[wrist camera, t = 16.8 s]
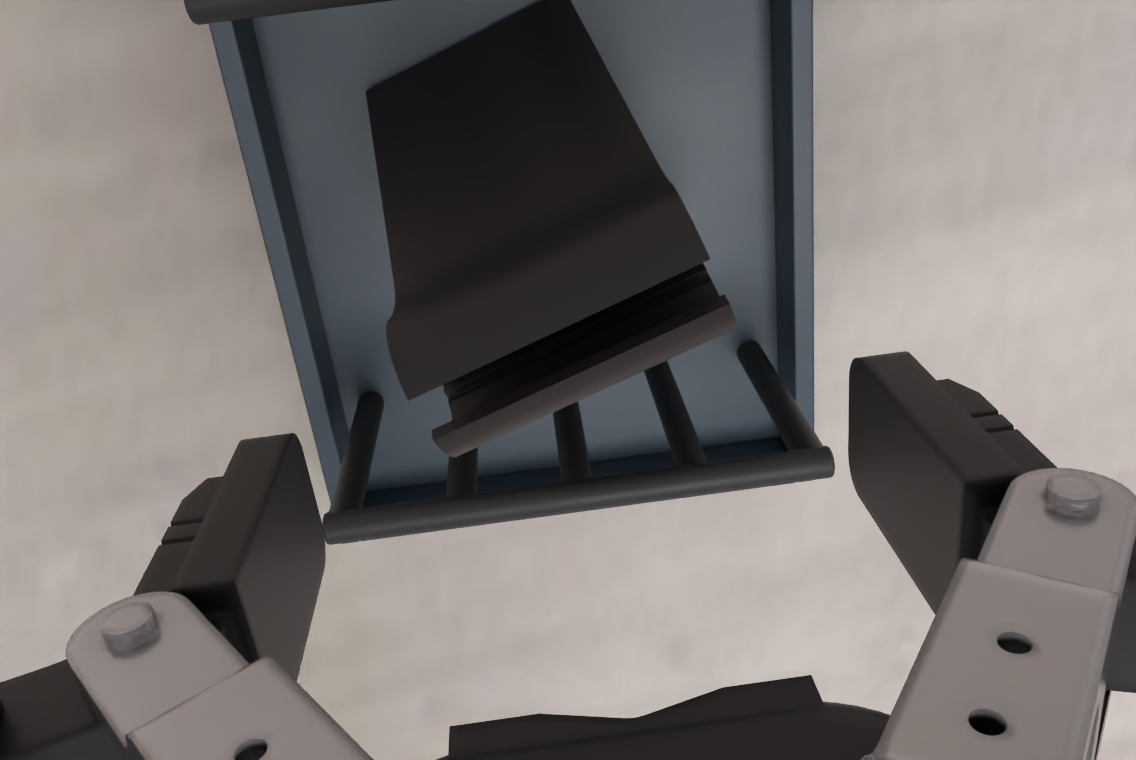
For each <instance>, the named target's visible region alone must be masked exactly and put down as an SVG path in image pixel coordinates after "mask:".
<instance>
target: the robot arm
mask: <svg viewBox="0 0 1136 760" xmlns="http://www.w3.org/2000/svg"><path fill="white" fill-rule="evenodd" d="M848 455H849V466H850V472H851V477H852V481H853V484H854V487H855V490H856V492H857V494H858V496H859V498H860V499H861V501H862V502H863V504H864V505H865V507H866V508H867V510H868V511H869V513H870V515H871V516H872V518H873V519H874V521H875V522H876V524H877V525H878V527H879V528H880V530H881V532H882V533H883V535H884V536H885V538H886V539H887V541H888V542H889V544H890V545H891V547H892V549H893V550H894V552H895V553H896V555H897V556H898V558H899V559H900V561H901V562H902V564H903V566H904V567H905V569H906V570H907V572H908V573H909V575H910V576H911V578H912V579H913V581H914V582H915V584H916V586H917V587H918V589H919V590H920V592H921V593H922V595H923V596H924V598H925V599H926V601H927V603H928V604H929V606H930V607H931V609H932V610H933V612H934V613H935V615H936V616H935V618H934V620H933V622H932V625H931V627H930V629H929V631H928V633H927V636H926V638H925V640H924V642H923V644H922V647H921V649H920V651H919V653H918V656H917V658H916V660H915V662H914V664H913V667H912V669H911V671H910V673H909V676H908V678H907V680H906V682H905V684H904V687H903V689H902V691H901V693H900V696H899V698H898V700H897V702H896V704H895V707H894V709H893V711H892V713H891V715H888V714H885V713H882V712H879V711H875V710H871V709H867V708H863V707H859V706H854V705H847V704H840V703H831V702H823V701H822V699H821V697H820V694H819V692H818V690H817V688H816V685H815V683H814V681H813V678H812V676H811V675H809V676H802V677H795V678H788V679H781V680H774V681H767V682H759V683H752V684H745V685H738V686H731V687H724V688H721V689H718V690H715V691H712V692H709V693H707V694H704V695H701V696H698V697H695V698H692V699H690V700H687V701H684V702H681V703H678V704H675V705H673V706H670V707H667V708H664V709H661V710H659V711H656V712H653V713H650V714H647V715H644V716H641V717H637V718H607V717H589V716H570V715H551V714H534V715H527V716H520V717H513V718H506V719H499V720H492V721H485V722H478V723H471V724H464V725H457V726H450V733H449V755H447V756H445V757H442V758H439V759H437V760H1097V759H1098V754H1099V750H1100V745H1101V740H1102V735H1103V731H1104V726H1105V721H1106V716H1107V712H1108V707H1109V702H1110V697H1111V691H1122V692H1132V693H1136V496H1135V495H1134V494H1133V493H1132V492H1131V491H1130V490H1129V489H1128V488H1126V487H1125V486H1123V485H1122V484H1120V483H1118V482H1116V481H1115V480H1113V479H1110V478H1108V477H1105V476H1102V475H1099V474H1096V473H1093V472H1088V471H1083V470H1077V469H1069V468H1057V467H1056V466H1055V465H1054V464H1053V463H1052V462H1051V461H1050V460H1049V459H1048V458H1047V457H1046V456H1045V455H1043V454H1042V453H1041V452H1040V451H1039V450H1038V449H1037V448H1036V447H1035V446H1034V445H1033V444H1032V443H1031V442H1030V441H1029V440H1028V439H1027V438H1026V437H1025V436H1024V435H1023V434H1022V433H1021V432H1020V431H1018V430H1017V429H1016V430H1014V428H1013V425H1012V424H1011V423H1010V422H1009V421H1008V420H1007V419H1006V418H1005V417H1004V416H1003V415H1002V414H1001V415H999V414H998V410H997V409H996V408H995V407H993V406H992V405H991V404H990V403H989V402H988V401H987V400H986V399H985V398H984V397H983V396H982V395H981V394H980V393H979V392H976V391H974V390H972V389H970V388H967V387H965V386H963V385H961V384H959V383H956V382H954V381H952V380H950V379H944V380H937V381H936V380H935V379H934V378H933V377H932V376H931V375H930V373H929V372H928V371H927V370H926V369H925V368H924V367H923V366H922V365H921V364H920V363H919V362H918V361H917V360H916V359H915V358H914V357H913V356H912V355H911V354H910V353H908V352H898V353H890V354H883V355H875V356H868V357H861V358H855V359H854V360H853V361H852V364H851V367H850V373H849V444H848ZM161 542H162V545H160V546H158V548H157V550H156V552H155V554H154V556H153V558H152V560H151V562H150V564H149V566H148V568H147V569H146V571H145V573H144V575H143V577H142V579H141V581H140V583H139V585H138V587H137V589H136V591H135V593H134V595H133V596H131V597H128V598H125V599H123V600H120V601H118V602H115V603H113V604H111V605H109V606H107V607H105V608H103V609H102V610H100V611H98V612H97V613H95V614H94V615H92V616H91V617H90V618H88V619H87V620H86V621H85V622H83V623H82V624H81V625H80V626H79V627H78V628H77V629H76V631H75V632H74V633H73V635H72V636H71V638H70V640H69V641H68V643H67V647H66V658H67V659H66V660H63V661H61V662H59V663H56V664H53V665H51V666H48V667H45V668H42V669H39V670H36V671H33V672H30V673H27V674H24V675H21V676H18V677H15V678H13V679H10V680H7V681H4V682H1V683H0V760H373V759H372V758H371V757H370V756H369V755H368V754H367V753H366V752H365V751H364V750H363V749H362V748H361V747H360V746H359V745H358V744H357V743H356V742H355V741H354V740H353V739H352V738H351V737H350V736H349V735H348V734H347V733H346V732H345V731H344V729H343V728H342V727H341V726H340V725H339V724H338V723H337V722H336V721H335V720H334V719H333V718H332V717H331V716H330V715H329V714H328V713H327V712H326V711H325V710H324V709H323V708H322V707H321V706H320V705H319V704H318V703H317V702H316V701H315V700H314V699H313V698H312V697H311V696H310V695H309V694H308V693H307V692H306V691H305V690H304V689H303V688H302V687H301V686H300V685H299V684H298V683H297V678H298V674H299V670H300V666H301V662H302V658H303V654H304V650H305V646H306V641H307V637H308V633H309V629H310V625H311V621H312V617H313V613H314V609H315V605H316V601H317V597H318V593H319V588H320V584H321V580H322V576H323V572H324V567H325V538H324V531H323V526H322V522H321V518H320V514H319V511H318V507H317V503H316V499H315V495H314V491H313V488H312V484H311V480H310V476H309V472H308V468H307V465H306V461H305V457H304V453H303V450H302V446H301V444H300V441H299V439H298V437H297V436H296V435H295V434H294V433H290V434H283V435H275V436H268V437H260V438H253V439H246V440H241V441H240V442H239V444H238V446H237V448H236V450H235V452H234V455H233V457H232V459H231V461H230V463H229V465H228V467H227V470H226V472H225V474H224V476H222V477H214V478H207V479H206V480H205V481H204V482H203V483H202V484H200V485H199V486H198V487H197V488H196V489H195V490H193V491H192V492H191V493H190V494H189V495H188V496H187V497H185V498H184V499H183V500H182V502H181V504H180V506H179V508H178V510H177V512H176V513H175V515H174V517H173V519H172V521H171V527H168V529H167V531H166V533H165V535H164V537H163V539H162V540H161Z"/></svg>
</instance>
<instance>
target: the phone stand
mask: <svg viewBox="0 0 1136 760" xmlns="http://www.w3.org/2000/svg"><path fill="white" fill-rule="evenodd" d="M366 98H367V105H368V112H369V118H370V125H371V132H372V139H373V145H374V152H375V159H376V166H377V173H378V179H379V186H380V193H381V200H382V207H383V213H384V220H385V227H386V234H387V240H388V247H389V254H390V261H391V268H392V274H393V281H394V289H395V307H394V311H393V314H392V316H391V317H390V318H389V320H388V321H387V325H386V337H387V344H388V348H389V353H390V356H391V360H392V363H393V366H394V369H395V372H396V374H397V377H398V379H399V382H400V384H401V387H402V389H403V391H404V393H405V395H406V398H407V400H408V401H409V400H411V399H414V398H416V397H418V396H420V395H422V394H424V393H426V392H428V391H431V390H433V389H435V388H437V387H439V386H441V385H443V387H444V393H445V394H446V396H447V397H448V399H449V400H448V404H449V407H450V410H451V414H452V418H453V420H452V421H450V422H448V423H446V424H443V425H441V426H439V427H437V428H435V429H433V430H431V431H432V438H433V441H434V443H435V444H436V445H437V446H438V447H439V448H440V449H441V450H442V451H443V452H444V453H446V454H447V455H449V456H451V457H457V456H459V455H461V454H464V453H466V452H468V451H470V450H472V449H475V448H477V447H479V446H481V445H483V444H485V443H488V442H490V441H492V440H494V439H496V438H499V437H501V436H503V435H505V434H507V433H509V432H512V431H514V430H516V429H518V428H520V427H523V426H525V425H527V424H529V423H531V422H533V421H536V420H538V419H540V418H542V417H544V416H547V415H549V414H551V413H553V412H555V411H558V410H560V409H562V408H564V407H566V406H568V405H571V404H573V403H575V402H577V401H579V400H582V399H584V398H586V397H588V396H590V395H592V394H595V393H597V392H599V391H601V390H603V389H606V388H608V387H610V386H612V385H614V384H616V383H619V382H621V381H623V380H625V379H627V378H630V377H632V376H634V375H636V374H638V373H640V372H643V371H645V370H647V369H649V368H651V367H654V366H656V365H658V364H660V363H662V362H665V361H667V360H669V359H671V358H673V357H675V356H678V355H680V354H682V353H684V352H686V351H689V350H691V349H693V348H695V347H697V346H699V345H702V344H704V343H706V342H708V341H710V340H713V339H715V338H717V337H719V336H721V335H723V334H726V333H728V332H730V331H732V330H734V329H737V328H738V326H737V322H736V319H735V316H734V313H733V311H732V308H731V306H730V303H729V301H728V300H727V298H726V296H725V294H724V295H722V296H719V294H718V292H717V290H716V288H715V286H714V284H713V282H712V280H711V278H710V276H709V274H708V271H707V269H706V267H705V265H704V264H703V263H704V262H706V261H708V260H710V257H709V255H708V252H707V250H706V248H705V246H704V244H703V242H702V240H701V237H700V235H699V233H698V231H697V229H696V227H695V225H694V223H693V221H692V219H691V217H690V215H689V213H688V211H687V209H686V207H685V205H684V203H683V201H682V199H681V197H680V196H679V194H678V192H677V190H676V189H675V187H674V186H673V184H672V183H671V182H670V181H669V180H668V179H667V177H666V176H665V174H664V172H663V171H662V169H661V167H660V165H659V164H658V162H657V160H656V158H655V156H654V155H653V153H652V151H651V149H650V147H649V145H648V143H647V142H646V140H645V138H644V136H643V134H642V132H641V130H640V128H639V127H638V125H637V123H636V121H635V119H634V117H633V115H632V114H631V112H630V110H629V108H628V106H627V104H626V102H625V101H624V99H623V97H622V95H621V93H620V91H619V89H618V88H617V86H616V84H615V82H614V80H613V78H612V76H611V75H610V73H609V71H608V69H607V67H606V65H605V63H604V62H603V60H602V58H601V56H600V54H599V52H598V50H597V49H596V47H595V45H594V43H593V41H592V39H591V37H590V36H589V34H588V32H587V30H586V28H585V26H584V24H583V23H582V21H581V19H580V17H579V15H578V13H577V11H576V10H575V8H574V6H573V4H572V2H571V0H541V1H539V2H537V3H535V4H533V5H531V6H529V7H527V8H525V9H524V10H522V11H520V12H518V13H516V14H514V15H512V16H510V17H508V18H506V19H504V20H502V21H500V22H498V23H496V24H494V25H493V26H491V27H489V28H487V29H485V30H483V31H481V32H479V33H477V34H475V35H473V36H471V37H469V38H467V39H465V40H463V41H461V42H460V43H458V44H456V45H454V46H452V47H450V48H448V49H446V50H444V51H442V52H440V53H438V54H436V55H434V56H432V57H430V58H429V59H427V60H425V61H423V62H421V63H419V64H417V65H415V66H413V67H411V68H409V69H407V70H405V71H403V72H401V73H399V74H398V75H396V76H394V77H392V78H390V79H388V80H386V81H384V82H382V83H380V84H378V85H376V86H374V87H372V88H370V89H368V90H366Z"/></svg>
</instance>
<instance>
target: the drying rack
mask: <svg viewBox="0 0 1136 760" xmlns="http://www.w3.org/2000/svg"><path fill="white" fill-rule="evenodd" d="M539 1H541V0H184V4H185V7H186V10H187V13H188V15H189V17H190V19H191V20H192V22H193V23H195V24H198V25H201V24H209V27H210V30H211V34H212V38H213V42H214V46H215V50H216V54H217V58H218V62H219V66H220V70H221V74H222V78H223V82H224V86H225V89H226V93H227V97H228V101H229V105H230V109H231V113H232V117H233V121H234V125H235V129H236V133H237V137H238V141H239V144H240V148H241V152H242V156H243V160H244V164H245V168H246V172H247V176H248V180H249V184H250V188H251V192H252V196H253V200H254V203H255V207H256V211H257V215H258V219H259V223H260V227H261V231H262V235H263V239H264V243H265V247H266V251H267V255H268V259H269V262H270V266H271V270H272V274H273V278H274V282H275V286H276V290H277V294H278V298H279V302H280V306H281V310H282V314H283V317H284V321H285V325H286V329H287V333H288V337H289V341H290V345H291V349H292V353H293V357H294V361H295V365H296V369H297V373H298V376H299V380H300V384H301V388H302V392H303V396H304V400H305V404H306V408H307V412H308V416H309V420H310V424H311V428H312V432H313V435H314V439H315V443H316V447H317V451H318V455H319V459H320V463H321V467H322V471H323V475H324V479H325V483H326V487H327V490H328V494H329V498H330V502H331V506H330V510H329V512H328V513H326V514H324V516H323V523H322V526H323V531H324V538H325V541H326V543H327V544H330V545H332V544H339V543H342V544H344V543H351V542H358V541H365V540H373V539H380V538H388V537H395V536H403V535H410V534H418V533H425V532H432V531H440V530H447V529H455V528H462V527H470V526H477V525H484V524H492V523H499V522H507V521H514V520H522V519H529V518H536V517H544V516H551V515H559V514H566V513H574V512H581V511H588V510H596V509H603V508H611V507H618V506H626V505H633V504H640V503H648V502H655V501H663V500H670V499H678V498H685V497H693V496H700V495H707V494H715V493H722V492H730V491H737V490H745V489H752V488H759V487H767V486H774V485H782V484H789V483H795V482H803V481H811V480H815V479H822V478H830V477H832V476H833V475H834V470H835V464H834V458H833V454H832V452H831V450H830V448H829V447H827V446H823V445H822V443H821V442H820V440H819V439H818V437H817V435H816V434H815V432H814V230H813V0H571V2H572V4H573V6H574V8H575V10H576V11H577V13H578V15H579V17H580V19H581V21H582V23H583V24H584V26H585V28H586V30H587V32H588V34H589V36H590V37H591V39H592V41H593V43H594V45H595V47H596V49H597V50H598V52H599V54H600V56H601V58H602V60H603V62H604V63H605V65H606V67H607V69H608V71H609V73H610V75H611V76H612V78H613V80H614V82H615V84H616V86H617V88H618V89H619V91H620V93H621V95H622V97H623V99H624V101H625V102H626V104H627V106H628V108H629V110H630V112H631V114H632V115H633V117H634V119H635V121H636V123H637V125H638V127H639V128H640V130H641V132H642V134H643V136H644V138H645V140H646V142H647V143H648V145H649V147H650V149H651V151H652V153H653V155H654V156H655V158H656V160H657V162H658V164H659V165H660V167H661V169H662V171H663V172H664V174H665V176H666V177H667V179H668V180H669V181H670V182H671V183H672V184H673V186H674V187H675V189H676V190H677V192H678V194H679V196H680V197H681V199H682V201H683V203H684V205H685V207H686V209H687V211H688V213H689V215H690V217H691V219H692V221H693V223H694V225H695V227H696V229H697V231H698V233H699V235H700V237H701V240H702V242H703V244H704V246H705V248H706V250H707V252H708V255H709V257H710V260H708V261H706V262H704V263H703V264H704V265H705V267H706V269H707V271H708V274H709V276H710V278H711V280H712V282H713V284H714V286H715V288H716V290H717V292H718V294H719V296H722V295H724V294H725V296H726V298H727V300H728V301H729V303H730V306H731V308H732V311H733V313H734V316H735V319H736V322H737V326H738V328H737V329H734V330H732V331H730V332H728V333H726V334H723V335H721V336H719V337H717V338H715V339H713V340H710V341H708V342H706V343H704V344H702V345H699V346H697V347H695V348H693V349H691V350H689V351H686V352H684V353H682V354H680V355H678V356H675V357H673V358H671V359H669V360H667V361H665V362H662V363H660V364H658V365H656V366H654V367H651V368H649V369H647V370H645V371H643V372H640V373H638V374H636V375H634V376H632V377H630V378H627V379H625V380H623V381H621V382H619V383H616V384H614V385H612V386H610V387H608V388H606V389H603V390H601V391H599V392H597V393H595V394H592V395H590V396H588V397H586V398H584V399H582V400H579V401H577V402H575V403H573V404H571V405H568V406H566V407H564V408H562V409H560V410H558V411H555V412H553V413H551V414H549V415H547V416H544V417H542V418H540V419H538V420H536V421H533V422H531V423H529V424H527V425H525V426H523V427H520V428H518V429H516V430H514V431H512V432H509V433H507V434H505V435H503V436H501V437H499V438H496V439H494V440H492V441H490V442H488V443H485V444H483V445H481V446H479V447H477V448H475V449H472V450H470V451H468V452H466V453H464V454H461V455H459V456H457V457H451V456H449V455H447V454H446V453H444V452H443V451H442V450H441V449H440V448H439V447H438V446H437V445H436V444H435V443H434V441H433V438H432V431H431V430H433V429H435V428H437V427H439V426H441V425H443V424H446V423H448V422H450V421H452V420H453V418H452V414H451V410H450V407H449V404H448V400H449V399H448V397H447V396H446V394H445V393H444V387H443V385H441V386H439V387H437V388H435V389H433V390H431V391H428V392H426V393H424V394H422V395H420V396H418V397H416V398H414V399H411V400H409V401H408V400H407V398H406V395H405V393H404V391H403V389H402V387H401V384H400V382H399V379H398V377H397V374H396V372H395V369H394V366H393V363H392V360H391V356H390V353H389V348H388V344H387V337H386V325H387V321H388V320H389V318H390V317H391V316H392V314H393V311H394V307H395V289H394V281H393V274H392V268H391V261H390V254H389V247H388V240H387V234H386V227H385V220H384V213H383V207H382V200H381V193H380V186H379V179H378V173H377V166H376V159H375V152H374V145H373V139H372V132H371V125H370V118H369V112H368V105H367V98H366V90H368V89H370V88H372V87H374V86H376V85H378V84H380V83H382V82H384V81H386V80H388V79H390V78H392V77H394V76H396V75H398V74H399V73H401V72H403V71H405V70H407V69H409V68H411V67H413V66H415V65H417V64H419V63H421V62H423V61H425V60H427V59H429V58H430V57H432V56H434V55H436V54H438V53H440V52H442V51H444V50H446V49H448V48H450V47H452V46H454V45H456V44H458V43H460V42H461V41H463V40H465V39H467V38H469V37H471V36H473V35H475V34H477V33H479V32H481V31H483V30H485V29H487V28H489V27H491V26H493V25H494V24H496V23H498V22H500V21H502V20H504V19H506V18H508V17H510V16H512V15H514V14H516V13H518V12H520V11H522V10H524V9H525V8H527V7H529V6H531V5H533V4H535V3H537V2H539Z"/></svg>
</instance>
